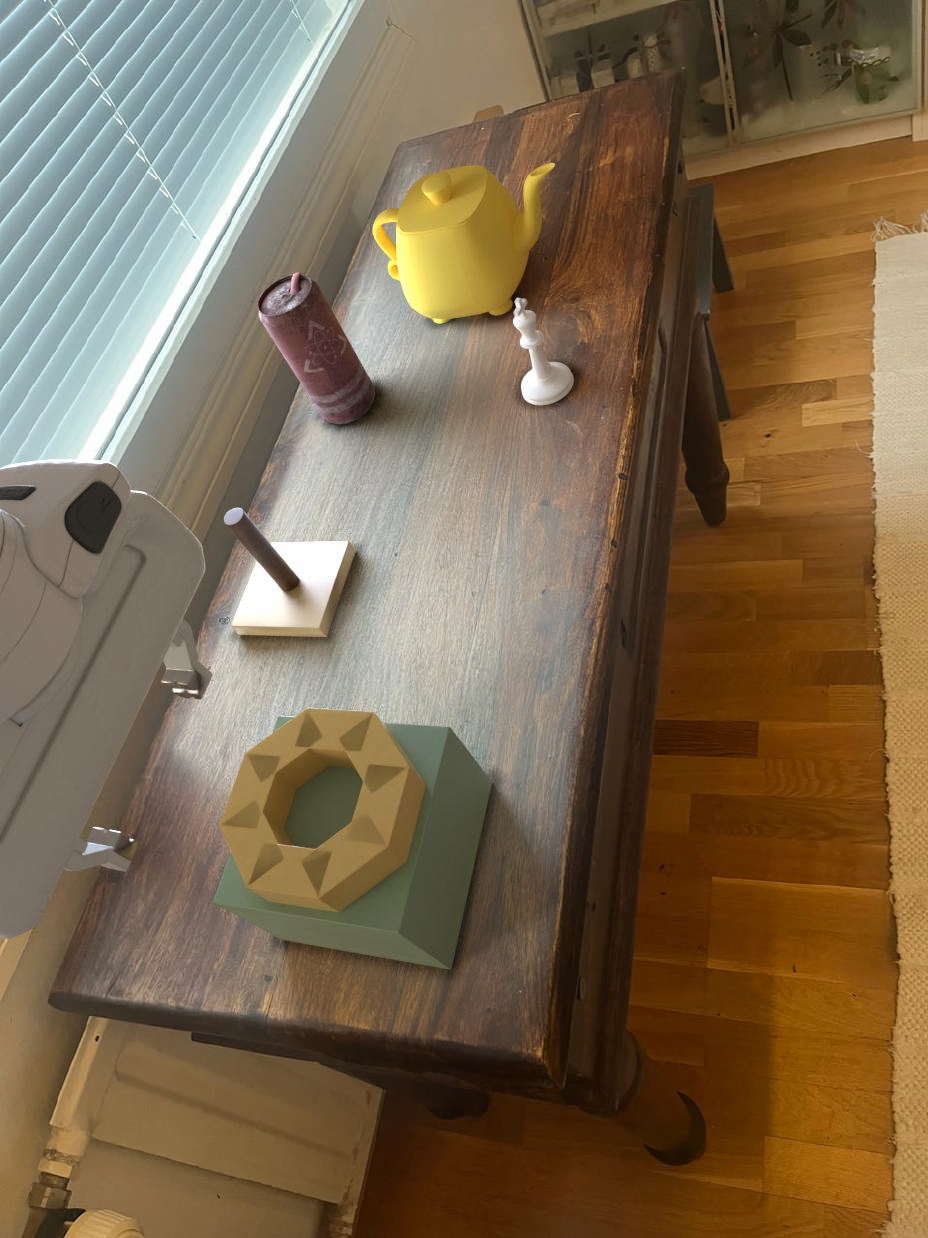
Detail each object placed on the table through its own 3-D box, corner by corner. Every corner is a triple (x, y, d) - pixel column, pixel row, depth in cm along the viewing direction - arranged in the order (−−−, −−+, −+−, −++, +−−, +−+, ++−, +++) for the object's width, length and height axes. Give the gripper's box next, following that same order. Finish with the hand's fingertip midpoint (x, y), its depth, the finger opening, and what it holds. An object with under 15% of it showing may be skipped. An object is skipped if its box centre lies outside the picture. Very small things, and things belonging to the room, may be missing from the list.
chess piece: (582, 369, 86) (555, 281, 78) (560, 408, 84) (531, 322, 76) (535, 364, 88) (505, 278, 80) (513, 402, 86) (480, 318, 78)
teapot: (417, 259, 104) (371, 154, 94) (592, 229, 96) (562, 112, 86) (389, 346, 97) (336, 243, 87) (575, 321, 90) (540, 204, 80)
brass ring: (392, 921, 53) (372, 907, 51) (223, 894, 58) (198, 880, 56) (439, 734, 59) (423, 714, 57) (282, 723, 63) (262, 704, 61)
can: (383, 376, 95) (322, 263, 84) (369, 423, 91) (304, 311, 80) (331, 384, 97) (265, 274, 86) (315, 429, 94) (245, 321, 83)
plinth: (451, 970, 60) (398, 933, 53) (281, 940, 65) (212, 902, 58) (492, 781, 66) (450, 726, 59) (334, 767, 71) (277, 715, 64)
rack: (327, 637, 78) (262, 562, 70) (239, 635, 82) (167, 563, 73) (356, 550, 83) (299, 469, 74) (271, 552, 86) (207, 475, 78)
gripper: (-133, 895, 31) (122, 988, 42) (129, 433, 40) (280, 606, 51) (-247, 865, 33) (21, 961, 44) (25, 438, 43) (190, 602, 54)
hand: (162, 767), depth 48 cm, fingers open, 8 cm apart
